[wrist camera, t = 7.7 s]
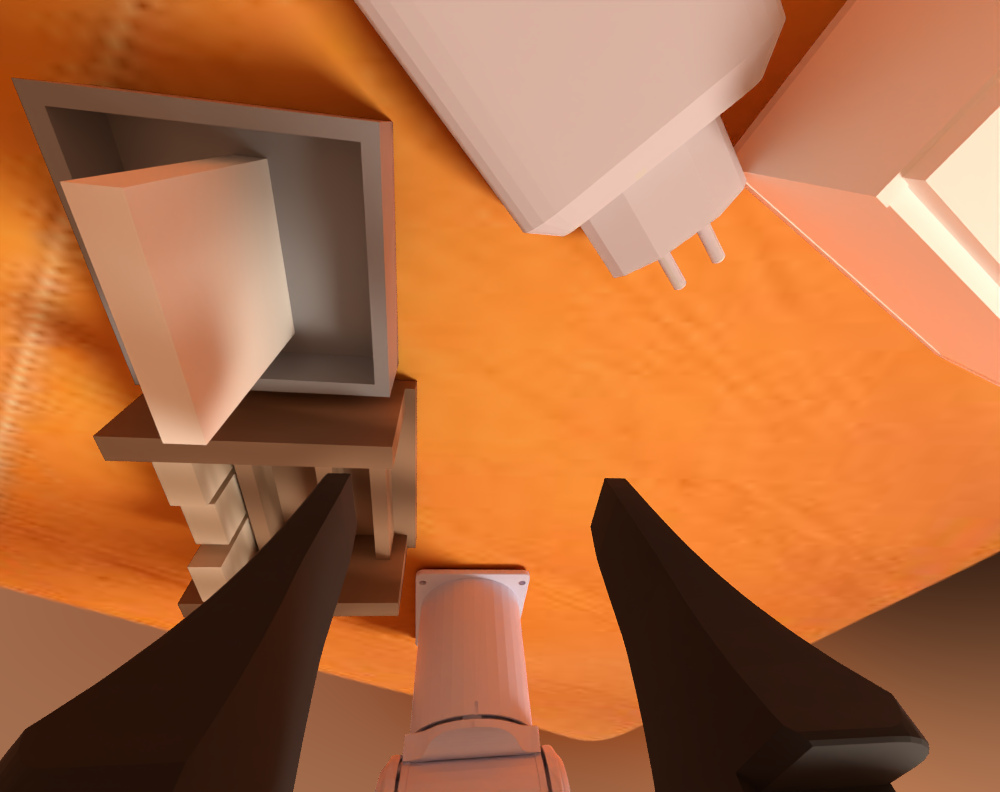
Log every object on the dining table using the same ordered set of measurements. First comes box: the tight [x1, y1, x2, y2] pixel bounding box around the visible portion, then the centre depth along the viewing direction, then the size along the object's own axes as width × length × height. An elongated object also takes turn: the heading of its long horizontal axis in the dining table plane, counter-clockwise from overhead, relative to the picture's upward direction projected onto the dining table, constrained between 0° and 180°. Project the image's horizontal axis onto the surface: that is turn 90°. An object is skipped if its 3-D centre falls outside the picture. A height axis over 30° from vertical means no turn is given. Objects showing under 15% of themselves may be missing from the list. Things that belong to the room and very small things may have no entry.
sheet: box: [60, 155, 295, 445], centre depth 14 cm, size 7×1×8 cm, turn 174°
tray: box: [12, 78, 398, 397], centre depth 17 cm, size 10×10×3 cm
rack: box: [93, 380, 417, 617], centre depth 22 cm, size 12×12×5 cm
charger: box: [354, 0, 786, 290], centre depth 14 cm, size 5×9×15 cm
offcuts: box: [152, 462, 259, 602], centre depth 21 cm, size 9×2×4 cm, turn 174°
